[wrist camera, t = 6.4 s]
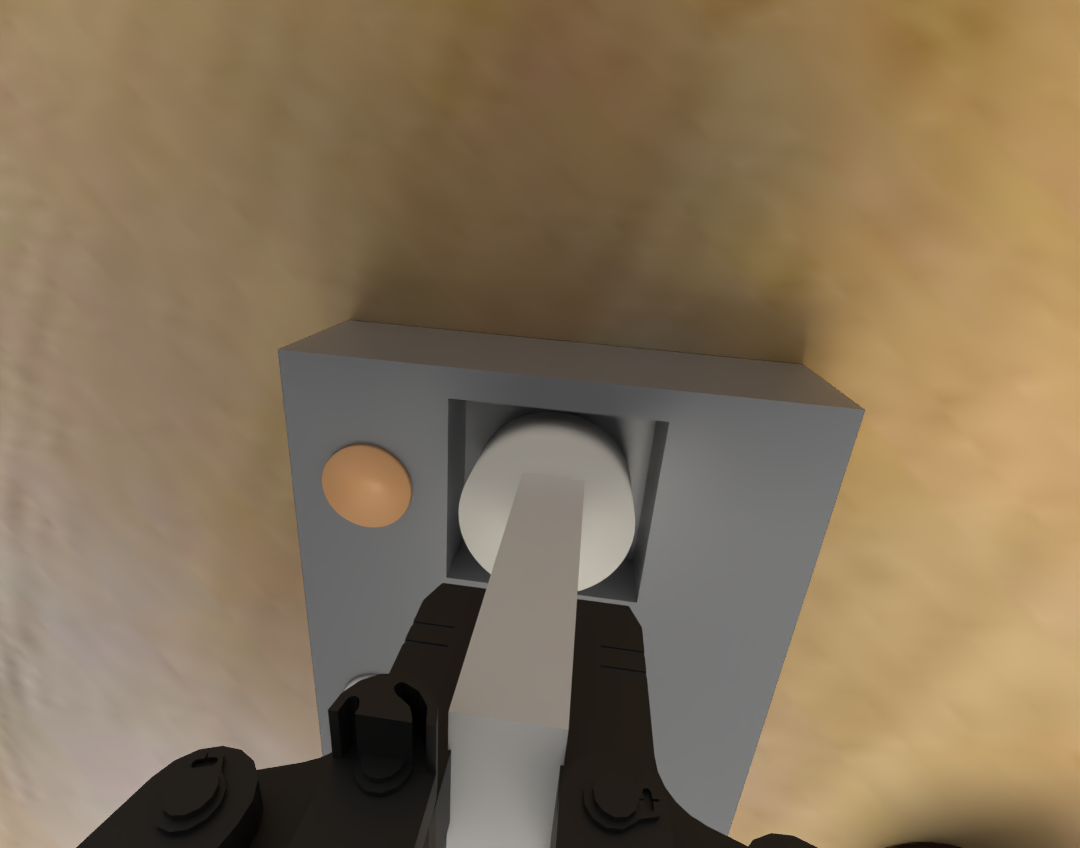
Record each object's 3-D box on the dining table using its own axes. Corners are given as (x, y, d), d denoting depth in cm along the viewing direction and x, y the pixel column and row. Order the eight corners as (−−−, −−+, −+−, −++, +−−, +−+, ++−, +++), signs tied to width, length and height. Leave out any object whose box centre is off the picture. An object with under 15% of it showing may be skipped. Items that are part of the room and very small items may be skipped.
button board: (377, 801, 25) (336, 907, 21) (349, 319, 17) (273, 351, 13) (673, 849, 24) (687, 969, 20) (803, 364, 16) (868, 412, 12)
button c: (473, 540, 16) (456, 583, 14) (477, 403, 14) (460, 430, 13) (619, 558, 16) (622, 605, 14) (641, 420, 14) (647, 451, 12)
